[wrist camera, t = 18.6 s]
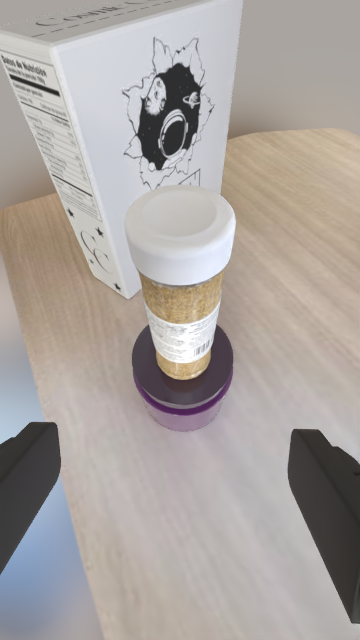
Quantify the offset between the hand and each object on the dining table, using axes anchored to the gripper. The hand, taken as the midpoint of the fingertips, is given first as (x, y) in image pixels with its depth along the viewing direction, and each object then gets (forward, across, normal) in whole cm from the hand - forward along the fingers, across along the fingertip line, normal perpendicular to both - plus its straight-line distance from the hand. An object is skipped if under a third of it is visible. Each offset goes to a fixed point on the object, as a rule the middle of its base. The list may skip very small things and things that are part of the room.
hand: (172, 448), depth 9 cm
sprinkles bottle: (+13, 0, +2) cm, 13 cm away
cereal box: (+36, +4, -8) cm, 37 cm away
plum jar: (+20, 0, +8) cm, 21 cm away
